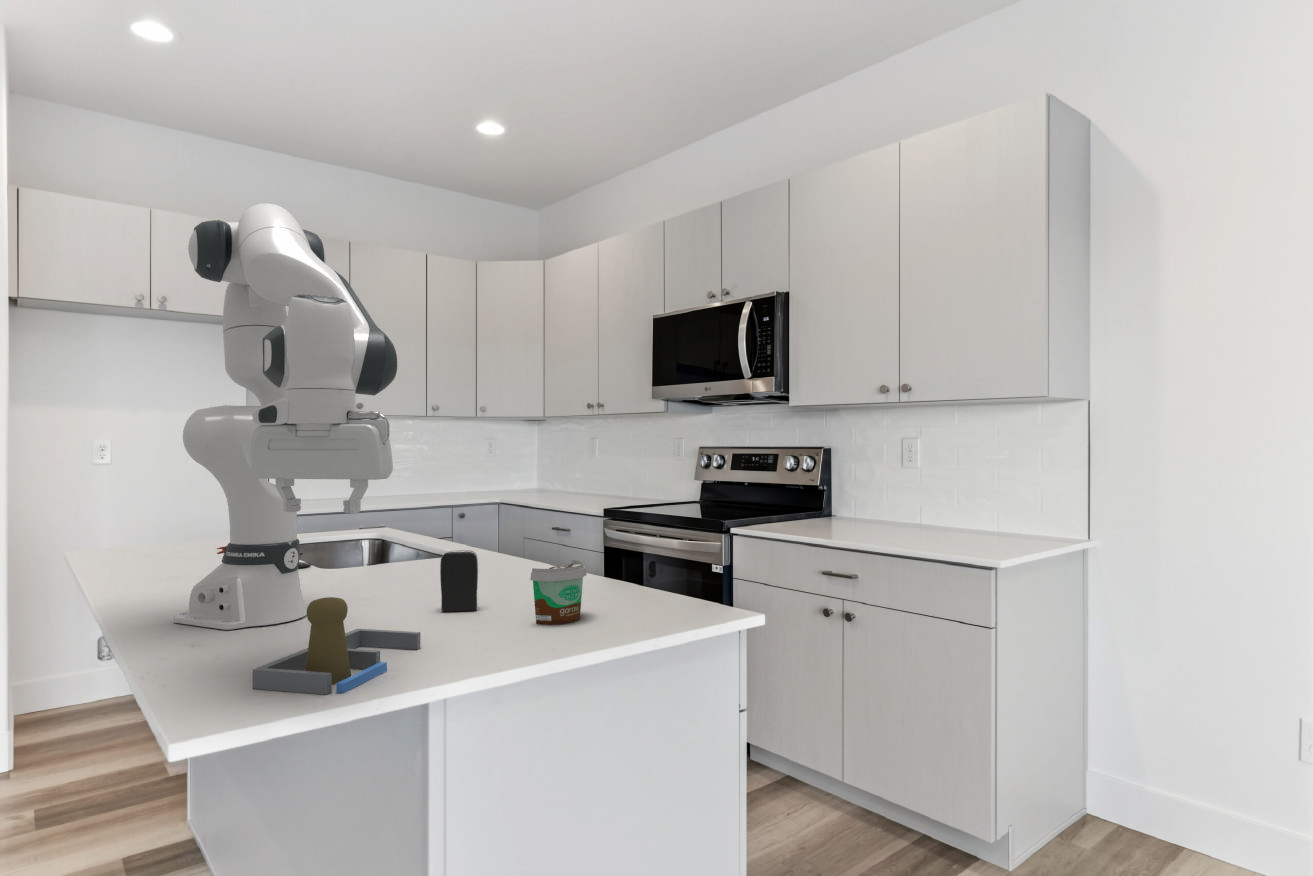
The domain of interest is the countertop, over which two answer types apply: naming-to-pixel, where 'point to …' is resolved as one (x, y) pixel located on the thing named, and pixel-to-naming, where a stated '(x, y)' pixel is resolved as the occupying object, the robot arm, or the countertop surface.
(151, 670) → the countertop surface
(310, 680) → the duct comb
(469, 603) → the battery charger
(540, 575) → the food container
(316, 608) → the cork
